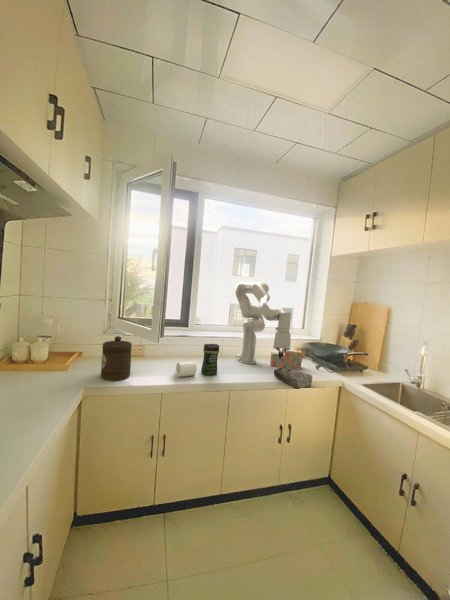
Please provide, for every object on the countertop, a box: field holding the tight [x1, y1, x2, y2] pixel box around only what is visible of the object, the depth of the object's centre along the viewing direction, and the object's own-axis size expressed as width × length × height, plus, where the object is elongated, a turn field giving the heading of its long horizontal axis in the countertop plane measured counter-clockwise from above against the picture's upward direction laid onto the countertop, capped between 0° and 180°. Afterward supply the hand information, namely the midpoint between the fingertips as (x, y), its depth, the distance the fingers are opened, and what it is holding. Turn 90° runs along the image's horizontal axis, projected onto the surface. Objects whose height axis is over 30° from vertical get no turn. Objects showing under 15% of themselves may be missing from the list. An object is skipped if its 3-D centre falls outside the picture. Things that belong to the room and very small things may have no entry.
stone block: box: [273, 367, 313, 390], centre depth 157 cm, size 13×7×20 cm
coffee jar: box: [200, 343, 220, 376], centre depth 157 cm, size 10×8×19 cm
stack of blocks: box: [269, 348, 303, 370], centre depth 187 cm, size 21×6×12 cm, turn 88°
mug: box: [175, 361, 197, 378], centre depth 153 cm, size 12×10×8 cm
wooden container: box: [100, 335, 132, 382], centre depth 140 cm, size 15×15×22 cm
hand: (280, 357), depth 167 cm, fingers closed
